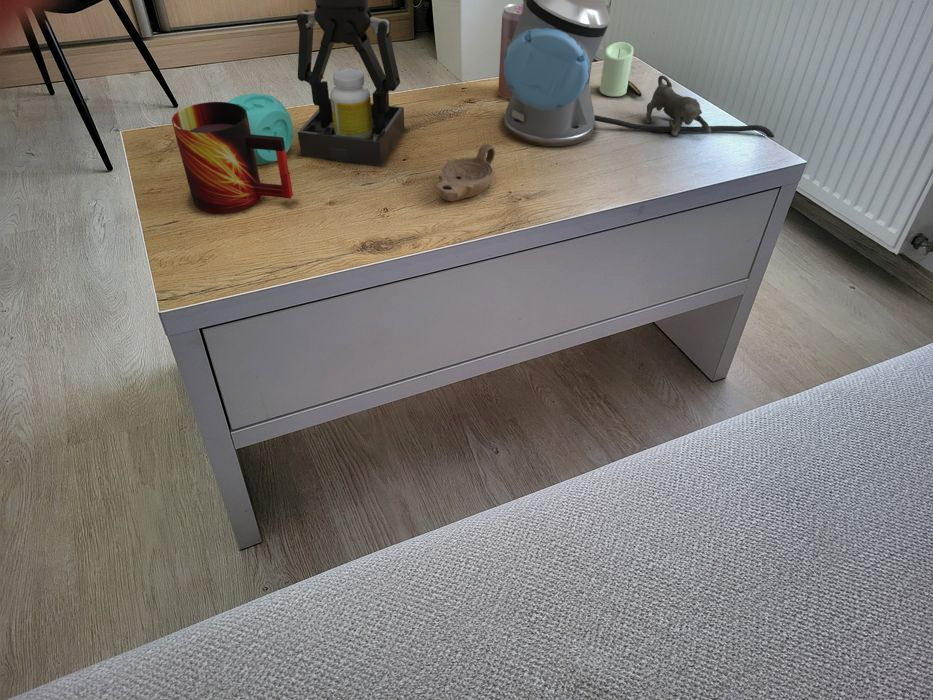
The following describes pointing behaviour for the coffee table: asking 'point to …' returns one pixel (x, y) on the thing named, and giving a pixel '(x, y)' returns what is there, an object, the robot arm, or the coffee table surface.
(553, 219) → the coffee table surface
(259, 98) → the decorative dice
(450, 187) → the oil lamp
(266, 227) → the coffee table surface
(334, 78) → the pill bottle
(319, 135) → the dark grey storage tray
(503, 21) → the beverage can
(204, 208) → the mug
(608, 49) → the candle
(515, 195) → the coffee table surface
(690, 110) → the dog figurine
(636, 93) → the dark small wedge
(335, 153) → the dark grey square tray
